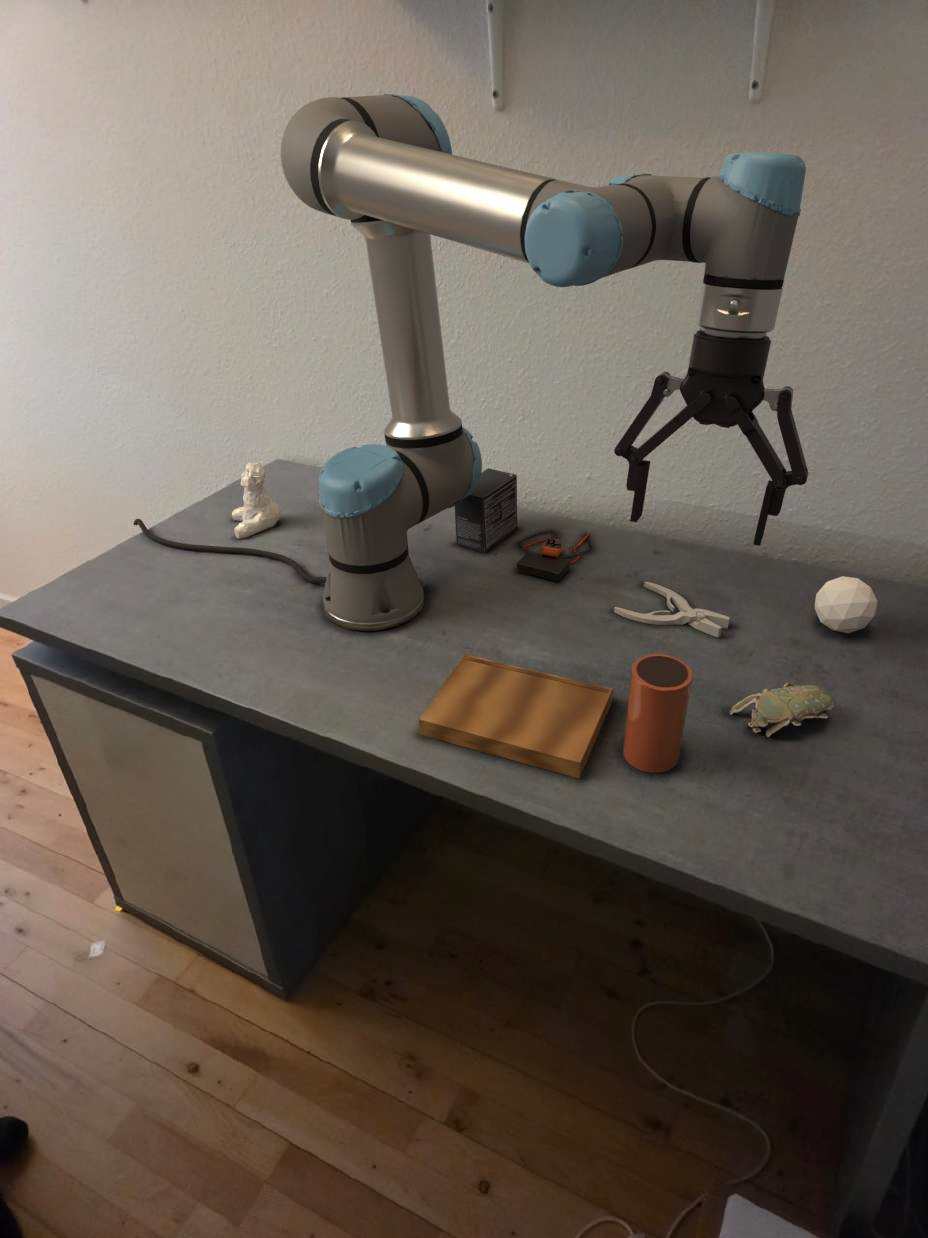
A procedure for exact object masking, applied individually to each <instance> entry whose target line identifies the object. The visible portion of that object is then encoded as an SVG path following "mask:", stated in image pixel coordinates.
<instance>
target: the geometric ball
mask: <svg viewBox="0 0 928 1238" xmlns="http://www.w3.org/2000/svg"><path fill="white" fill-rule="evenodd" d="M877 607H878V599H877V597H876V595H875V594H874V591H873V589H872V587H871V586H869V585H868V584H867V583H866V582H864V581H862V580H861V579H860V578H858V577H850V576H845V575H843V576H839V577H836V578H833V579H830V580H828V581H826V582H825V583H824V584H823V585H822V587H821V588H820V589H819V590H818V592H817V593H816V594H815V600H814V610H815V613H816V616H817V618H818V619H819V622H820V623H821V624H823V625H824V626H826V627H827V628H828V629H830V630H832V631H835V632H839V633H844V634H851V633H854V632H857V631H859V630H863V629H865V628H866V627H867V626H868V624H869V623H870V622H871V621H872V620H873V618H875V616H876V611H877Z"/></svg>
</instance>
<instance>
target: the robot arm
mask: <svg viewBox="0 0 928 1238" xmlns="http://www.w3.org/2000/svg"><path fill="white" fill-rule="evenodd" d="M280 161H281V162H280V163H281V168H282V171H283V175H284V178H285V180H286V182H287V184H288V186H289V188H290V189H291V191H292V192H293V193H294V194H295V196H296V197H297V198H298V199H299V200H300V201H301V202H302V203H304V205H306V206H308V207H309V208H311V209H313V210H316V211H318V212H320V213H323V214H326V215H330V216H334V217H337V218H340V219H343V220H348V221H350V225H351V226H352V227H353V228H354V230H356V231H357V232H359V233H360V234H361V235H362V237H363V238H364V241H365V248H366V254H367V260H368V267H369V273H370V280H371V286H372V293H373V300H374V306H375V312H376V313H375V314H376V319H377V326H378V333H379V339H380V346H381V353H382V360H383V365H384V372H385V378H386V379H385V380H386V384H387V392H388V399H389V404H390V411H391V418H390V419H389V421H388V422H387V424H386V425H385V426H384V428H383V435H384V442H385V445H384V444H376V443H375V444H374V443H371V444H363V445H362V446H360V447H358V446H352V447H349V448H347V449H344V450H341V451H339V452H337V453H336V454H334V455H333V456H331V457H329V459H328V460H326V462H324V463H323V465H322V466H321V468H320V471H319V474H318V487H319V493H318V499H319V500H318V501H319V505H320V507H321V512H322V513H321V514H322V518H323V519H322V520H323V526H324V532H325V539H326V540H325V541H326V547H327V553H328V561H329V565H328V570H327V575H326V576H311V575H309V574H307V573H306V572H305V571H304V569H303V568H302V567H301V565H300V564H299V563H297V562H296V561H295V560H294V559H292V558H289V557H288V556H285V555H282V554H279V553H277V552H272V551H267V550H263V549H256V548H248V547H236V546H235V547H234V546H233V547H232V546H218V545H205V544H190V543H183V542H177V541H173V540H169V539H165V538H162V537H159V536H157V535H155V534H153V533H152V532H151V531H150V530H149V529H148V527H146V525H145V523H144V521H143V520H142V519H140V518H136V519H134V521H133V525H134V526H139V528H140V530H141V532H142V533H143V534H144V535H145V536H146V537H147V538H149V539H150V540H152V541H155V542H156V543H159V544H162V545H163V546H168V547H172V548H176V549H177V548H178V549H182V550H188V551H189V550H190V551H200V552H201V551H203V552H217V553H218V552H219V553H230V554H231V553H232V554H233V553H234V554H246V555H247V554H248V555H253V556H260V557H264V558H265V557H266V558H271V559H275V560H278V561H281V562H283V563H286V564H288V565H290V566H291V567H292V568H294V570H295V571H296V572H297V573H298V575H299V576H300V577H301V578H302V579H304V580H305V581H307V582H309V583H312V584H318V583H319V584H320V583H321V584H323V583H324V589H323V594H322V605H323V610H324V614H325V616H326V618H328V620H329V621H331V623H333V624H335V625H337V626H339V627H341V628H344V629H346V630H352V631H359V632H360V631H361V632H373V631H376V632H377V631H383V630H387V629H392V628H395V627H398V626H400V625H403V624H406V623H407V622H409V621H411V620H412V619H414V618H415V617H416V616H417V615H419V613H420V612H421V611H422V609H423V607H424V604H425V591H424V587H426V582H425V580H423V579H421V578H419V575H418V572H417V570H416V567H415V566H414V563H413V561H412V559H411V557H410V554H409V542H408V541H409V540H408V531H409V530H410V529H411V528H413V527H415V526H417V525H419V524H420V523H423V522H424V521H426V520H428V519H430V518H432V517H434V516H436V515H438V514H440V513H441V512H443V511H445V510H447V509H451V508H454V507H455V505H457V504H458V503H459V502H461V500H463V499H464V498H466V497H467V496H469V495H470V494H471V493H472V492H473V491H474V489H475V488H476V486H477V484H478V482H479V480H480V476H481V473H482V472H483V471H482V469H483V459H482V453H481V450H480V447H479V444H478V442H477V441H474V440H473V438H474V435H472V433H471V431H469V430H468V429H467V428H466V427H463V421H462V418H461V417H460V416H459V415H457V414H456V413H455V412H453V411H452V409H451V404H450V397H449V395H450V394H449V388H448V377H447V370H446V369H447V368H446V360H445V351H444V343H443V335H442V334H443V333H442V325H441V317H440V310H439V309H440V308H439V300H438V290H437V281H436V273H435V264H434V254H433V245H432V237H431V236H434V237H438V238H441V239H444V240H448V241H451V242H454V243H457V244H461V245H466V246H468V247H472V248H475V249H477V250H482V251H485V252H489V253H492V254H495V255H498V256H501V257H505V258H509V259H511V260H515V261H518V262H522V263H525V264H527V265H529V266H530V267H531V270H532V271H533V272H534V273H536V275H537V276H538V277H539V278H540V279H541V281H543V282H544V283H546V284H548V285H549V286H553V287H557V288H569V287H583V286H587V285H590V284H594V283H595V282H597V281H599V280H600V279H603V278H606V277H609V276H611V275H614V274H618V273H620V272H623V271H627V270H631V269H634V268H637V267H639V266H644V265H646V264H649V263H652V262H656V261H674V262H688V263H689V262H691V263H696V264H705V265H704V274H703V279H702V287H701V291H700V297H699V302H698V303H699V304H698V309H697V314H696V320H695V323H696V324H697V326H699V327H700V329H699V330H697V331H695V332H696V333H694V334H693V338H692V344H691V349H690V356H689V360H688V366H687V371H686V375H685V376H684V378H682V377H677V376H674V375H671V373H670V372H668V371H663V372H661V373H660V374H659V375H657V376H656V377H655V378H654V383H653V385H652V390H651V394H650V396H649V398H648V399H647V400H646V402H645V403H644V404H643V406H642V408H641V409H640V411H639V412H638V413H637V414H636V417H635V418H634V419H633V421H632V423H631V424H630V425H629V427H628V428H627V430H626V431H625V432H624V434H623V436H621V439H620V440H619V442H618V443H617V445H616V446H615V448H614V450H613V452H614V455H615V456H617V457H621V458H623V459H625V460H626V461H627V462H628V471H627V477H626V484H625V486H626V490H627V491H630V492H634V493H633V499H632V507H631V513H630V520H629V521H630V522H631V523H638V522H639V520H640V518H641V517H642V516H643V512H644V506H645V499H646V492H647V485H648V480H649V479H648V478H649V474H650V468H651V460H646V459H645V458H646V457H648V456H649V455H650V454H651V453H653V451H654V450H656V449H657V448H658V447H659V446H660V445H661V444H663V443H664V442H665V441H666V440H667V439H669V438H670V437H671V436H672V435H673V434H675V432H677V431H678V430H679V429H680V428H681V427H683V426H685V424H687V422H689V421H690V420H691V419H693V420H695V421H696V422H697V423H698V424H699V425H703V426H711V425H715V426H718V427H721V428H725V429H730V428H732V427H735V426H738V427H739V429H740V431H741V433H742V434H743V435H744V436H745V438H746V439H747V441H748V443H749V444H750V445H751V448H752V449H753V451H754V452H755V455H756V456H757V457H758V460H759V461H760V463H761V464H762V466H763V467H764V469H765V471H766V472H767V474H768V476H769V477H770V480H768V481H767V483H766V486H765V490H764V496H763V498H762V499H763V500H762V503H761V508H760V513H759V516H758V517H759V518H758V519H757V520H758V521H757V525H756V529H755V534H754V538H753V542H752V543H753V544H752V545H754V546H759V547H760V546H761V545H762V541H763V539H764V534H765V529H766V526H767V522H768V517H769V516H773V517H778V516H779V514H780V513H781V511H782V507H783V503H784V498H785V495H786V490H787V489H788V488H789V487H791V486H803V485H805V484H806V483H807V481H808V477H809V470H808V466H807V462H806V458H805V455H804V451H803V447H802V444H801V443H802V442H801V440H800V435H799V432H798V429H797V425H796V422H795V418H794V414H793V409H792V408H793V407H792V406H793V398H794V389H793V388H792V387H791V386H788V385H786V386H784V387H782V388H765V384H764V379H765V378H764V377H765V373H766V367H767V362H768V358H769V353H770V348H771V346H772V345H771V344H772V340H771V338H770V337H769V336H768V335H767V334H768V333H771V332H772V331H773V330H774V329H775V326H776V321H777V318H778V312H779V308H780V304H781V299H782V294H783V290H784V289H783V288H784V287H783V286H784V284H785V283H784V282H785V276H786V272H787V268H788V263H789V259H790V255H791V251H792V246H793V242H794V238H795V233H796V230H797V225H798V221H799V217H800V216H801V211H802V209H801V205H802V197H803V192H804V185H805V178H806V173H807V166H806V162H805V161H804V159H803V158H802V157H801V156H799V155H797V154H794V153H793V154H792V153H785V152H784V153H781V152H763V151H762V152H756V151H750V152H749V151H748V152H746V151H745V152H731V153H729V154H728V155H727V156H726V157H725V158H724V159H723V162H722V166H721V169H720V171H719V172H718V173H719V176H717V175H716V176H711V177H709V176H706V177H693V176H670V175H652V174H651V173H641V174H631V175H620V176H616V177H614V178H613V179H611V180H610V181H609V182H608V184H607V185H604V186H586V185H583V184H578V183H575V182H570V181H566V180H559V179H556V178H554V177H550V176H544V175H541V174H537V173H531V172H527V171H523V170H519V169H514V168H511V167H506V166H503V165H498V164H494V163H490V162H486V161H481V160H476V159H472V158H468V157H464V156H460V155H455V154H453V150H452V144H451V139H450V136H449V133H448V130H447V128H446V126H445V124H444V122H443V121H442V119H441V117H440V115H439V114H438V113H437V112H436V111H435V110H434V109H433V108H432V107H431V106H430V104H428V103H427V102H426V101H425V100H422V99H421V98H418V97H416V96H411V95H403V94H401V95H400V94H397V93H391V94H390V93H385V94H377V95H376V94H375V95H361V96H360V95H358V96H344V97H343V96H342V97H338V96H327V97H321V98H318V99H314V100H312V101H309V102H308V103H306V104H304V105H303V106H302V107H300V108H299V109H298V110H297V111H296V112H295V113H294V114H293V115H292V116H291V117H290V119H289V121H288V122H287V124H286V126H285V129H284V131H283V135H282V139H281V142H280ZM675 391H679V393H680V395H681V396H682V398H683V400H684V403H685V404H686V405H685V406H684V407H683V408H682V409H681V410H680V411H679V412H678V413H677V414H676V415H674V416H673V417H672V418H671V419H670V420H669V421H667V422H666V423H665V424H663V426H662V427H660V428H659V429H658V430H657V431H656V432H655V433H653V434H652V435H651V436H650V437H649V438H648V439H647V440H645V441H644V442H643V443H642V444H640V446H639V447H638V448H637V447H636V446H634V445H633V444H634V443H635V441H636V440H637V438H638V437H639V436H640V434H641V433H642V431H643V430H644V428H645V427H646V426H647V424H648V423H649V422H650V420H651V418H652V417H653V415H654V414H655V412H656V411H657V410H658V408H660V406H661V404H662V402H664V399H665V398H669V397H671V396H672V395H673V394H674V393H675ZM763 401H765V402H768V406H769V409H770V410H771V411H772V412H776V418H777V424H778V427H779V430H780V433H781V437H782V441H783V445H784V449H785V452H786V456H787V459H788V462H789V466H790V470H787V469H786V467H785V466H784V464H783V463H782V461H781V459H780V458H779V456H778V454H777V452H776V451H775V449H774V447H773V446H772V444H771V442H770V440H769V438H768V437H767V435H766V434H765V431H764V430H763V429H762V427H761V426H760V423H759V420H758V418H757V417H756V415H755V414H754V413H755V412H753V411H754V410H755V409H756V408H757V407H758V406H759V405H761V403H763Z"/></svg>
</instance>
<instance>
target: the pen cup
mask: <svg viewBox="0 0 928 1238" xmlns="http://www.w3.org/2000/svg"><path fill="white" fill-rule="evenodd" d="M692 682H693V671H692V669H691V667H690V666H689V665H688V664H687V663H686V662H685V661H683V660H682V659H680V658H678V657H675V656H672V655H668V654H661V653H660V654H659V653H655V654H654V653H653V654H646V655H644V656H641V657H639V658H637V659H636V660H635V661H634V663H633V664H632V666H631V672H630V681H629V691H628V700H627V708H626V709H627V710H626V719H625V726H624V737H623V746H622V753H623V757H624V759H625V760H626V762H627V763H628V764H629V765H631V766H632V767H633V768H635V769H637V770H639V771H642V772H645V773H650V774H651V773H652V774H660V773H665V772H668V771H670V770H673V769H674V767H675V766H677V764H678V763H679V760H680V754H681V750H682V749H681V748H682V743H683V742H682V741H683V737H684V730H685V726H686V719H687V713H688V708H689V707H688V705H689V699H690V695H691V694H690V693H691V687H692Z"/></svg>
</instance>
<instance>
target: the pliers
mask: <svg viewBox="0 0 928 1238" xmlns="http://www.w3.org/2000/svg"><path fill="white" fill-rule="evenodd" d="M643 588H646V589H648V590H650V591H652V592H655V593H657V594H659V595H661V596H663V597H664V598H666V605H667V607H668V608H669V610H654V611H651V612H648V613H643V612H639V611H638V612H637V611H634V610H629V609H625V608H622V607H619V606H615V607H613V613H615V614H617V615H619V616H621V617H624V618H626V619H629V620H632V621H636V622H640V623H644V624H648V625H649V624H650V625H659V626H669V625H679V626H680V625H681V626H683V625H685V624H687V625H688V626H690V627H692V628H693V629H695V630H698V631H700V632H703V633H705V634H707V635H710V636H712V637H715V638H720V637H721V635H722V629H728V628H729V623H730V619H731V618H730V616H728V615H725V614H721V613H717V612H715V611H711V610H708V609H704V608H698V607H695V608H692V606H690V604H689V602H688V600H686V599H685V598H684V597H683V596H681V595H680V594H678V593H677V592H675V591H673V590H671V589H670V588H667V587H665V586H664V585H663V586H662V585H660V584H657V583H653V582H650V581H644V582H643ZM673 604H674V605H673ZM675 606H676V607H675ZM675 608H677V609H678V610H679V611H678V612H676V613H674V612H675ZM671 612H673V614H671Z"/></svg>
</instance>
